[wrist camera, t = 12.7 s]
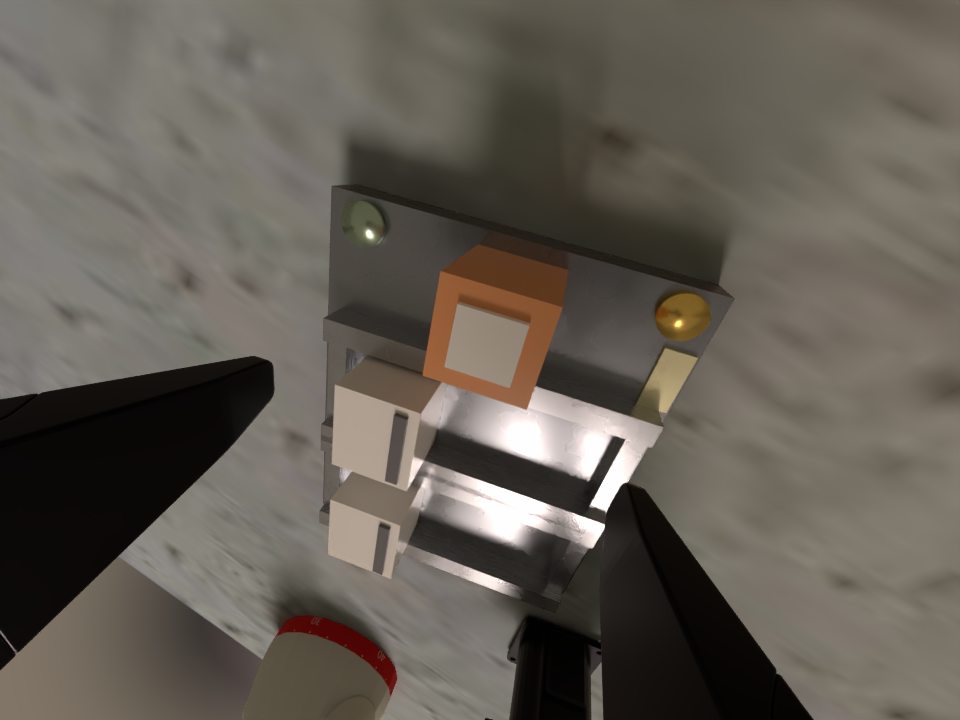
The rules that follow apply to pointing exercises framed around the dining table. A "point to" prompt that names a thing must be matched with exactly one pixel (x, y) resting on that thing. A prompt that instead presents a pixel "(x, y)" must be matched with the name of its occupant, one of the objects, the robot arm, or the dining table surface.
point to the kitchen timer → (321, 675)
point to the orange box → (494, 323)
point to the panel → (500, 426)
